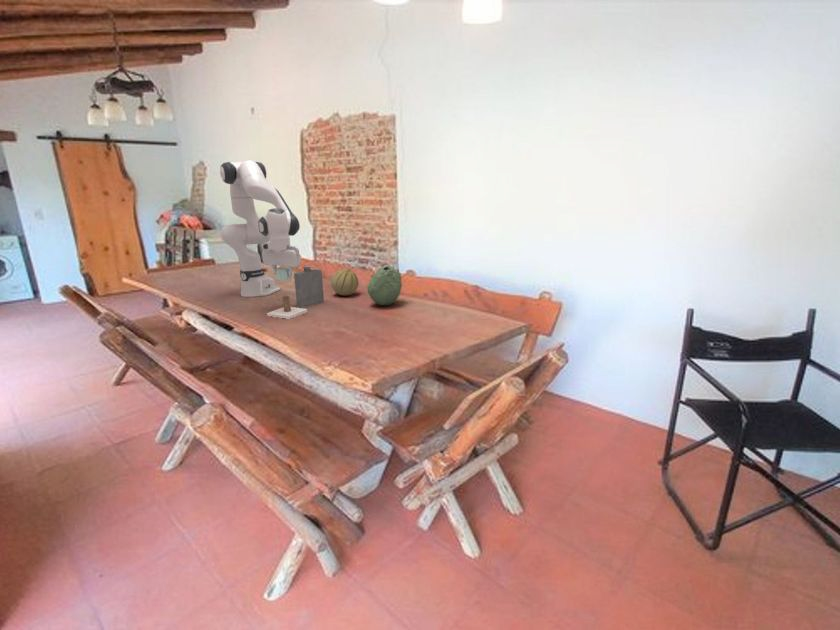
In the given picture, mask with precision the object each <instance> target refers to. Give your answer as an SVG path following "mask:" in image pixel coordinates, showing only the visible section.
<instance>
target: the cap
mask: <svg viewBox="0 0 840 630" xmlns="http://www.w3.org/2000/svg"><path fill="white" fill-rule="evenodd" d="M287 272H289V269H288V267H278V268H277V269H276V281H290V280H291V279H292V276H288V275H287Z"/></svg>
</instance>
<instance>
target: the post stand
mask: <svg viewBox="0 0 840 630" xmlns="http://www.w3.org/2000/svg"><path fill="white" fill-rule="evenodd" d="M282 305H283V306H282V307H280V308H277V309H275V310H272V311H270V312H267V313H266V314H267V317H270V316H273V317H272V318H276V317H279V318H278V319H282V318H286V319H285V320H288V319H289V320H291V319H290V318H292V319H294V318H296V316H297V317H299V316H301V315H303V313H304V314H305V313H308V309H307V308H297V306H291V299H290V295H289V296H288V295H284V296H282ZM298 315H299V316H298ZM293 317H294V318H293Z"/></svg>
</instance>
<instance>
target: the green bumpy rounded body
mask: <svg viewBox="0 0 840 630" xmlns="http://www.w3.org/2000/svg"><path fill="white" fill-rule="evenodd" d="M402 286H403V283H402V273H400V270H399V268H397V267H394V266H390V265H389V264H384V266H383V267H380V268H378V269H377V270H376V272H375V273H373V274H371V275H370V280H369V282H368V285H367V289H366V291H367V293H368V296H369V297H370V299H371V301H373V302H374V303H375V304H377V305H379V306H383V307H385V306H390V305H392V304H394V303H395V302H396V301H397V300H398V298H399V296H400V294H401V291H402Z"/></svg>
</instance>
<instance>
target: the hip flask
mask: <svg viewBox="0 0 840 630" xmlns="http://www.w3.org/2000/svg"><path fill="white" fill-rule="evenodd" d="M302 268H303V270H301V271H297V272H294V273H293V277H294V287H295V288H294V289H295V298H296V308H303V307H304V308H306V307H309V306H313V305H316V304H323V303H324V302H325V297H324V285H323V284H324V283H323V274H322V272H323V270H322V268H311V265H304V266H303V267H302ZM304 308H303V309H304Z"/></svg>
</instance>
